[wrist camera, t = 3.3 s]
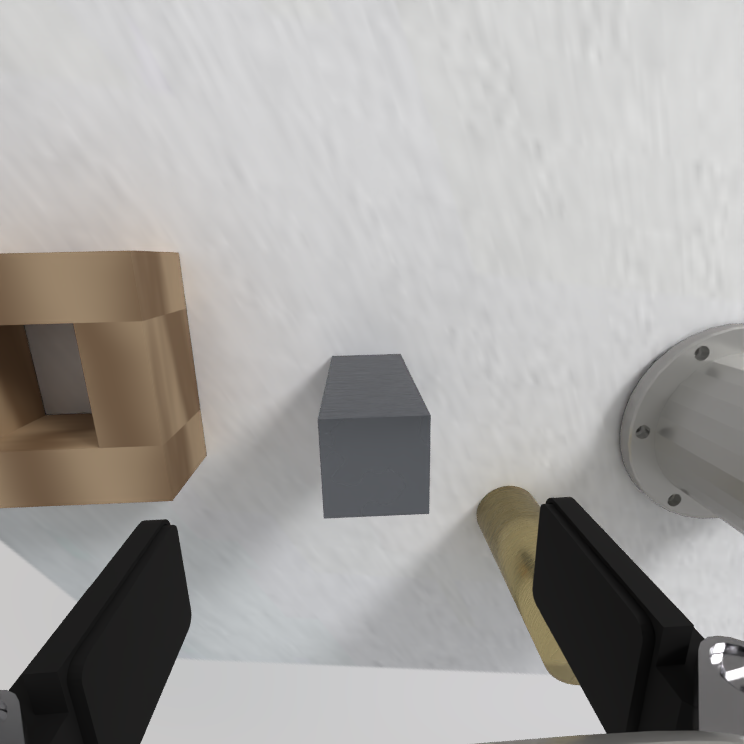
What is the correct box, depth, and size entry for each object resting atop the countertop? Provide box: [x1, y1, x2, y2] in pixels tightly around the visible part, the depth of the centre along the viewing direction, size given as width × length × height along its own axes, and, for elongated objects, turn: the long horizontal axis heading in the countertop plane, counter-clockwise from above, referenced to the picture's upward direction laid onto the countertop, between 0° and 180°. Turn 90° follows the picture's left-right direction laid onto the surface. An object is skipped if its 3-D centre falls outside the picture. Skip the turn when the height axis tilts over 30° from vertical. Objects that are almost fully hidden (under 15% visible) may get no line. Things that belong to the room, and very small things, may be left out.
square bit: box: [318, 354, 431, 518], centre depth 20 cm, size 4×4×10 cm
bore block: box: [0, 251, 207, 508], centre depth 21 cm, size 12×12×5 cm
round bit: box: [477, 486, 580, 685], centre depth 23 cm, size 4×4×10 cm
